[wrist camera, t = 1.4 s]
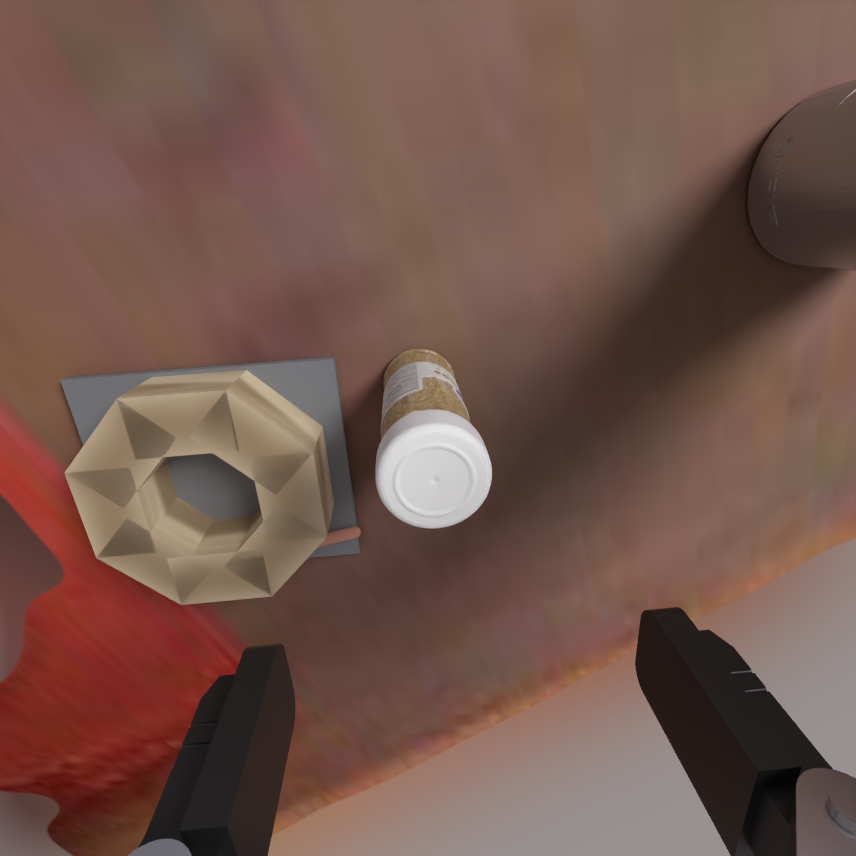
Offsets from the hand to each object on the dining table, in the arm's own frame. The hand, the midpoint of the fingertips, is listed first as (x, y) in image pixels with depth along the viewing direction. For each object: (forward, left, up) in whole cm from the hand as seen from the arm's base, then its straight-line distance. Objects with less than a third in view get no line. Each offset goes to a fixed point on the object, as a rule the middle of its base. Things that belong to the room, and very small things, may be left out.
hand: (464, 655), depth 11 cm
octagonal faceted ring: (+13, +5, -21) cm, 25 cm away
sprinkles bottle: (0, 0, -22) cm, 22 cm away
